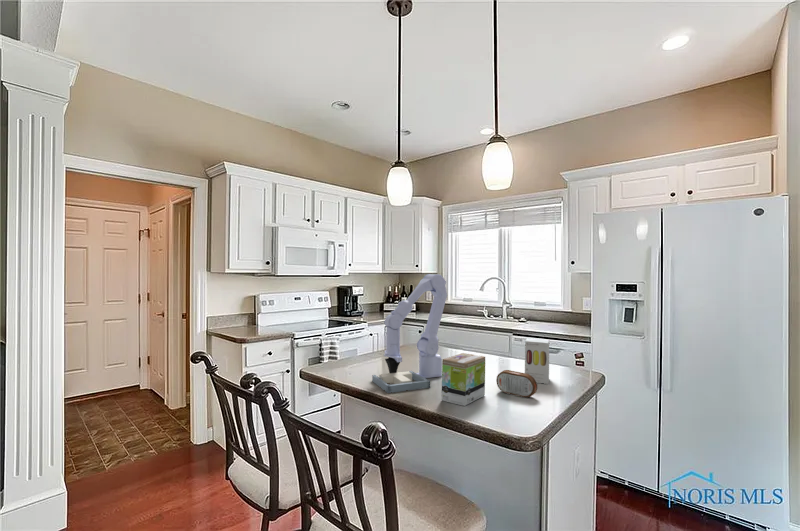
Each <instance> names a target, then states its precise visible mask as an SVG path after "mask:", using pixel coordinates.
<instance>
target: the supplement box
mask: <svg viewBox="0 0 800 531" xmlns="http://www.w3.org/2000/svg"><path fill="white" fill-rule="evenodd" d="M524 343H525V344H524V345H525V346H524V373H526V374H529V375H531V376H532V377H533V378H534V379H535V381H536V383H537V384H541V383H544V384H543V385H549V381H550V339H545V338H534V337H533V338H531V337H527V338H526V339H525V342H524Z"/></svg>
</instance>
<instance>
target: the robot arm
mask: <svg viewBox="0 0 800 531" xmlns="http://www.w3.org/2000/svg"><path fill="white" fill-rule="evenodd" d="M446 285H447V281H446V279H445V278H444V277H443V275H442V274H440V273H437V274H436V273H435V274H432V273H427V274H425V275H424V276H423V278H422V279H420V280H419V283H418V284H417V285H416V286H415V288H414V289H413V291H411V293H410V295H409V296H408V297H407V299H405V300H403V299H402V300H401V301H399V302H398V303H397V306H396V307H395V309H393V310H391V311H390V314H388V315H386V316H385V319H384V321H383V323H384V325H385V327H386V328H385V329H386V331H385V332H386V333H385V335H386V339H385V343H386V344H385V349H386V350H384V354H383V357H386V358H384V361H385V363H386V365H387V367H388V368H387V369H388V372H389V373H397V372H398V368H399V367H400V363H402V362H403V357H402V356H401V348H400V347H401V342H400V341H401V327H402V326H403V321H404V320H405V319H406V318H407V316H408V315H409V314H410V313H411V312H412V311H413V305H414V304H415V303H416V302H417V301H418V300H419V299H420V297H422V295H423V294H424V293H426V292H430V293H431V294H432V296H433V300H432V304H431V307H430V311H429V315H428V318H427V322H426V326H425V330H424V331H423V333H422V334H421V335H420V338H419V339H418V340H417V342H416V348H417V351H418V352H419V353H418V355H419V356H418V358H419V360H418V372H415V373H416V374H418V375H420V376H422V377H424V378H426V379H429V378H437V377H442V361H443V359H442V357H441V355H440V354H438V352H439V341H440V339H439V336H438V332H439V327H440V323H441V320H442V317H443V313H444V310H445V309H444V308H445V306H446V301H447V298H448V292H447V287H446ZM387 357H388V358H387Z"/></svg>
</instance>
